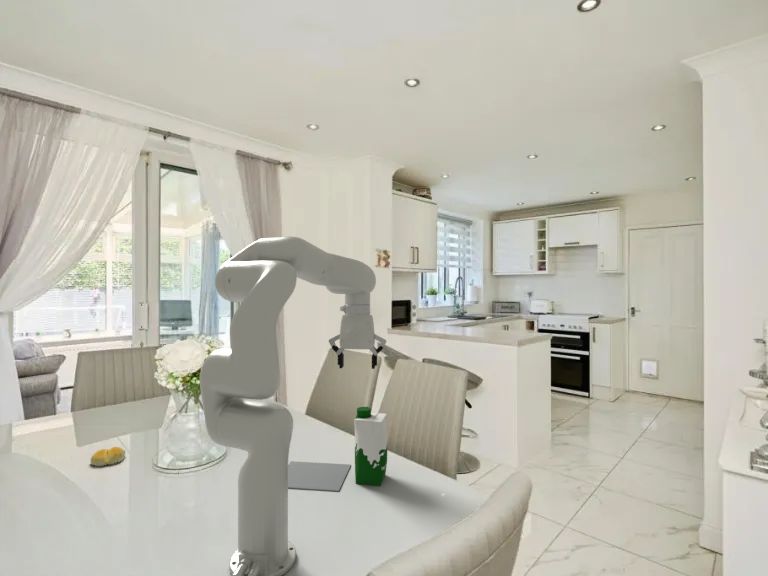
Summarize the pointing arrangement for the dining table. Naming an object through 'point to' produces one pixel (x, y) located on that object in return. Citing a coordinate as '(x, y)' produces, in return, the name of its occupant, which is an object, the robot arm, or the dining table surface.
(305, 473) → the placemat
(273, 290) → the robot arm
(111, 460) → the bread roll
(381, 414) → the white and green box
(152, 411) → the dining table surface
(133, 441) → the dining table surface
